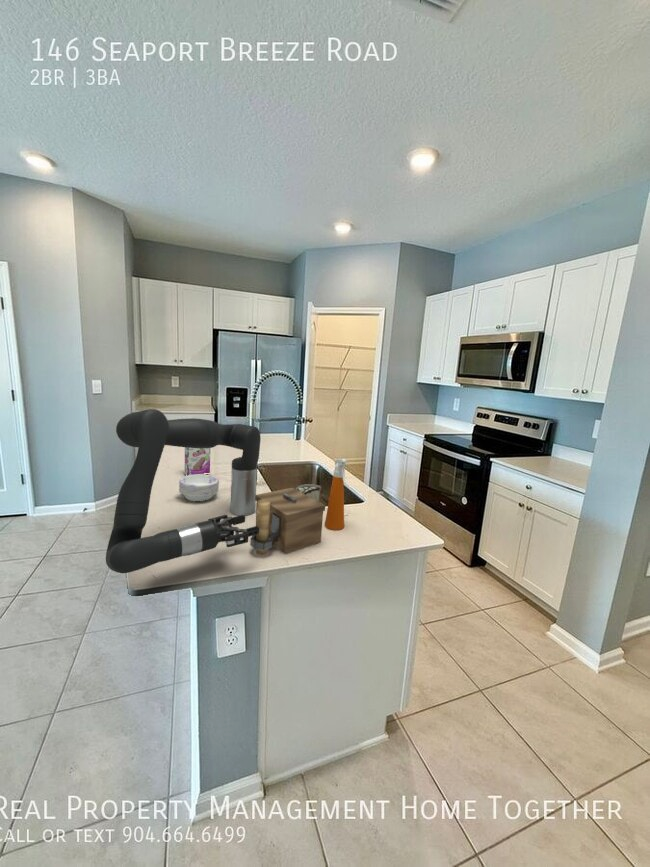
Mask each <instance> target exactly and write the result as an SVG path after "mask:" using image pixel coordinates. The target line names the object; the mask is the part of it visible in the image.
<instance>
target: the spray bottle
mask: <svg viewBox="0 0 650 867" xmlns="http://www.w3.org/2000/svg"><path fill="white" fill-rule="evenodd" d="M347 462H348V461H347V459H346V458H338V459H336V460H335V462H334V466H335V467H334V469H333V475H332V481H331V482H332V483H331V487H330V493H329V496H328V498H329V499H328V503H327V509H326V516H325V521H324V526H325V528H327V529H328V530H331V531H339V530H342V529H344V527H345V488H344V487H345V486H344V484H346V483H347V481H346V480H347V479H346V472H345V466H346V465H347Z"/></svg>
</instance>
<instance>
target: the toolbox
mask: <svg viewBox="0 0 650 867" xmlns="http://www.w3.org/2000/svg"><path fill="white" fill-rule="evenodd" d="M255 500H256V506H255V526H257V507H258V501H259V500H269V501H270V515H269V534H272V533H273V532H272V514H276V515H277V516H279V517H280V518H281V530H280V537H278V541H277V542H274V544H273V546H274V547H275V548H277V549H278V551H280V552H281V553H282V554H284V555H286V554H290V553H293V552H296V551H298V550H302V549H304V548H307V547H311V546H314V545H316V544H319V543H321V542H322V531H323V519H324V518H323V516H324V512H326V505H325V504H323V503H322V502H320V501H319V502H318V501H316V500H314V499H312V498H310V497H309V496H307V495H305V494H303V493H301V492H299V491H297V490H296V489H295V488H293V487H289V488H283V489H279V490H278V489H277V490H274V491H268V492H263V493H258V494H256V495H255Z"/></svg>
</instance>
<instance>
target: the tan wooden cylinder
mask: <svg viewBox="0 0 650 867" xmlns="http://www.w3.org/2000/svg"><path fill="white" fill-rule="evenodd" d="M269 515H270V501H269V500H259V501H258V507H257V526H258V527H259V534H257V535H256V541H257V542H266V541H268V538H269ZM268 553H269V549H266V550H259V549H255V554H256V555H259V556H261V555H262V556H263V555H267V554H268Z"/></svg>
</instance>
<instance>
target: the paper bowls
mask: <svg viewBox="0 0 650 867" xmlns="http://www.w3.org/2000/svg"><path fill="white" fill-rule="evenodd" d="M178 482H179V483H178V484H179V486H178V487H179V488H178V490H179V493H180V495H182V496H184V497H185V499H186V500H188V501H190V502H195V501H200V502H205V500H206V501H208V500H210V499H212V498H213V496H215V495H216V494H217V493H219V488H220V479H219V478H218V477H217V476H215V475H212V474H208V475H206V474H195V475H188V476H186V475H185V476H183V477H180V479H179V481H178Z"/></svg>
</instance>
